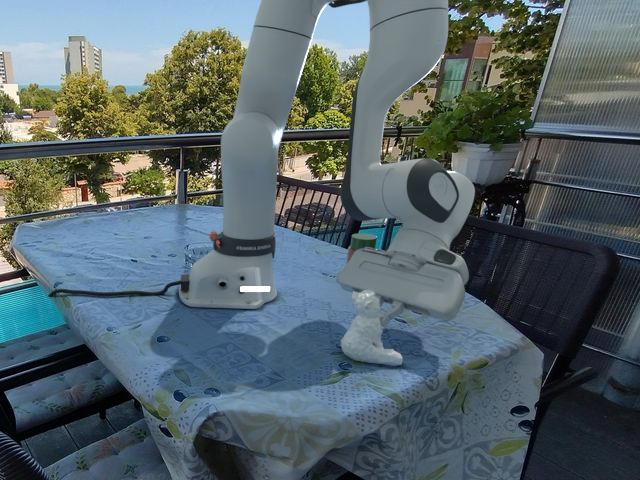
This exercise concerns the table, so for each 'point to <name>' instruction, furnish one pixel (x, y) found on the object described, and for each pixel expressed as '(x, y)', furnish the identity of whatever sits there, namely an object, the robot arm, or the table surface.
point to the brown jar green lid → (360, 243)
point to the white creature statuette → (367, 333)
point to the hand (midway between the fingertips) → (376, 323)
